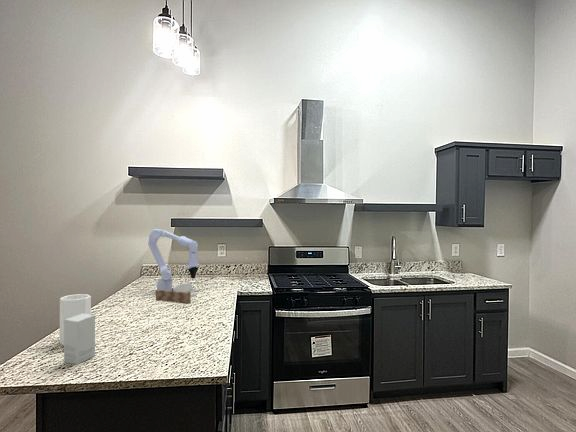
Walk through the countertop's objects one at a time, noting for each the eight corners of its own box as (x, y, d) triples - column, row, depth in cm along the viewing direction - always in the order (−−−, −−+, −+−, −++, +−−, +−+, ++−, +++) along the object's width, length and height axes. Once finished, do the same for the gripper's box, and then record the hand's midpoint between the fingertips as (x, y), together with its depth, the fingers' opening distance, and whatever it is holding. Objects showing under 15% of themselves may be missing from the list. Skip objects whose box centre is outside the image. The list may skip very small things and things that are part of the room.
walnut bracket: (155, 299, 223) (155, 290, 223) (165, 296, 231) (165, 287, 231) (188, 303, 215) (188, 293, 215) (196, 300, 223) (197, 290, 223)
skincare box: (82, 354, 136) (82, 312, 136) (96, 356, 134) (96, 314, 134) (62, 362, 128) (63, 318, 128) (77, 365, 126) (77, 320, 126)
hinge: (176, 301, 220) (173, 285, 222) (171, 302, 223) (168, 287, 224) (197, 296, 234) (193, 281, 236) (192, 297, 237) (188, 282, 239)
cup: (57, 347, 142) (57, 301, 142) (62, 338, 152) (62, 295, 152) (89, 344, 147) (89, 298, 147) (91, 335, 157) (92, 293, 157)
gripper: (191, 259, 238) (191, 280, 238) (204, 257, 252) (204, 277, 252) (183, 259, 241) (182, 279, 241) (195, 257, 254) (195, 276, 254)
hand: (193, 278), depth 246 cm, fingers closed
